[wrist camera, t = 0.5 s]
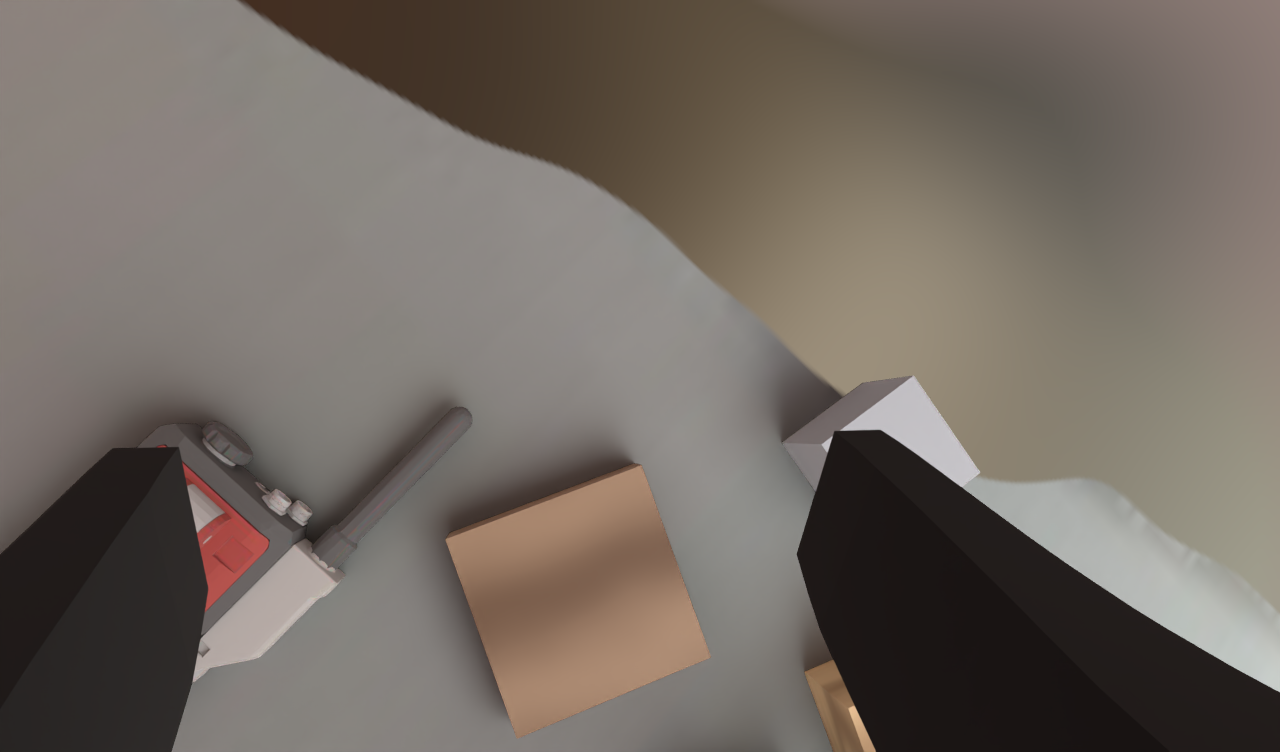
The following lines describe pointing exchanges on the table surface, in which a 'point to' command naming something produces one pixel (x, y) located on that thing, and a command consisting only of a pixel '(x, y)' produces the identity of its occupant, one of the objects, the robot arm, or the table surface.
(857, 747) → the oak block
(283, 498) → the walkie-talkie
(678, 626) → the tan flat block
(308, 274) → the table surface
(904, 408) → the slate block
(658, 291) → the table surface
